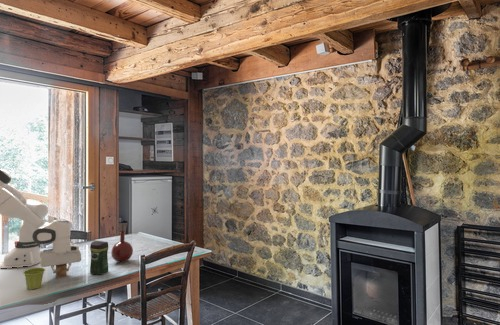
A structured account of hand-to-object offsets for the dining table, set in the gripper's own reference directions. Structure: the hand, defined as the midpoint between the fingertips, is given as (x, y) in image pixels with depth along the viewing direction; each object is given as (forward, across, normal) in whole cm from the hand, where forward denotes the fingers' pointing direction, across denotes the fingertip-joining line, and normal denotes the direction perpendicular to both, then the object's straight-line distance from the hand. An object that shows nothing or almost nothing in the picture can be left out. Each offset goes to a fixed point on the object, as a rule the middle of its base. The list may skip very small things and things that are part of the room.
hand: (61, 271), depth 188 cm
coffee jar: (+2, +19, -6) cm, 20 cm away
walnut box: (+2, 0, 0) cm, 2 cm away
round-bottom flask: (+2, +35, +8) cm, 36 cm away
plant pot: (+2, -13, -12) cm, 18 cm away
